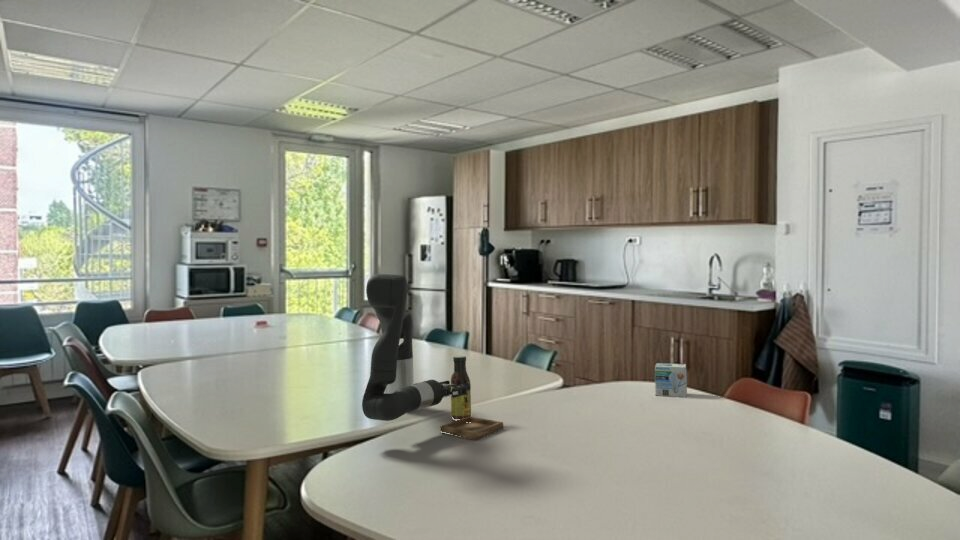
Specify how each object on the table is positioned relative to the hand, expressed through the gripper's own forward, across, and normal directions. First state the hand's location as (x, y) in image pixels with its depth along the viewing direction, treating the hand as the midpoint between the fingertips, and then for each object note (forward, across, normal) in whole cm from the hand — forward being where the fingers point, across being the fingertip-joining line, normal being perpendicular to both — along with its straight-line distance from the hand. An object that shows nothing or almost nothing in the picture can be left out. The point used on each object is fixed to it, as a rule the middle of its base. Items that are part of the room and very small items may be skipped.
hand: (459, 385), depth 174 cm
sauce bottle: (0, 0, +11) cm, 11 cm away
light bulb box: (+67, -44, +11) cm, 81 cm away
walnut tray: (-8, -11, +11) cm, 18 cm away
